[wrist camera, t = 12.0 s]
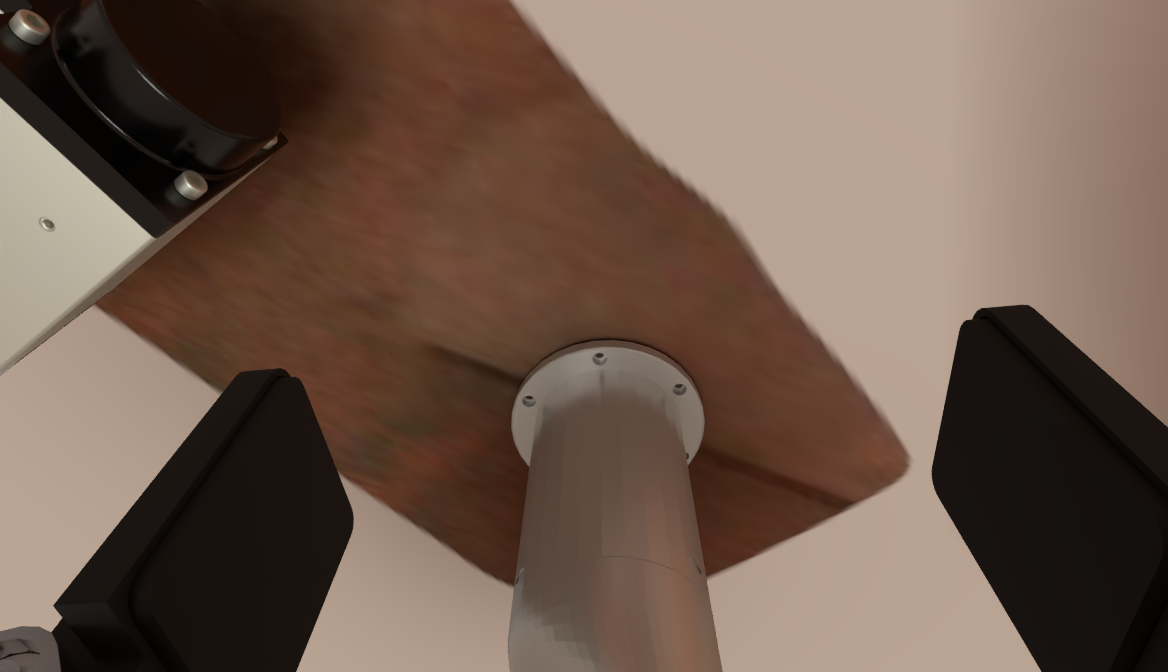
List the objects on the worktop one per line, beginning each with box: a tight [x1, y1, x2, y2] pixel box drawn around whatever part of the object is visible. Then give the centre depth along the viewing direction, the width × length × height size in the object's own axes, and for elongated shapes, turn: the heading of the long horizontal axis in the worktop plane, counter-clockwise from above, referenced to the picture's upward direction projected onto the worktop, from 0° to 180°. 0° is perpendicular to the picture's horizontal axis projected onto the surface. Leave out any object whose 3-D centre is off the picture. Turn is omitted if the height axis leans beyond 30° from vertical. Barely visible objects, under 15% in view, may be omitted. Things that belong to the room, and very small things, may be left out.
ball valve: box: [0, 0, 288, 375], centre depth 28 cm, size 18×8×18 cm, turn 125°
